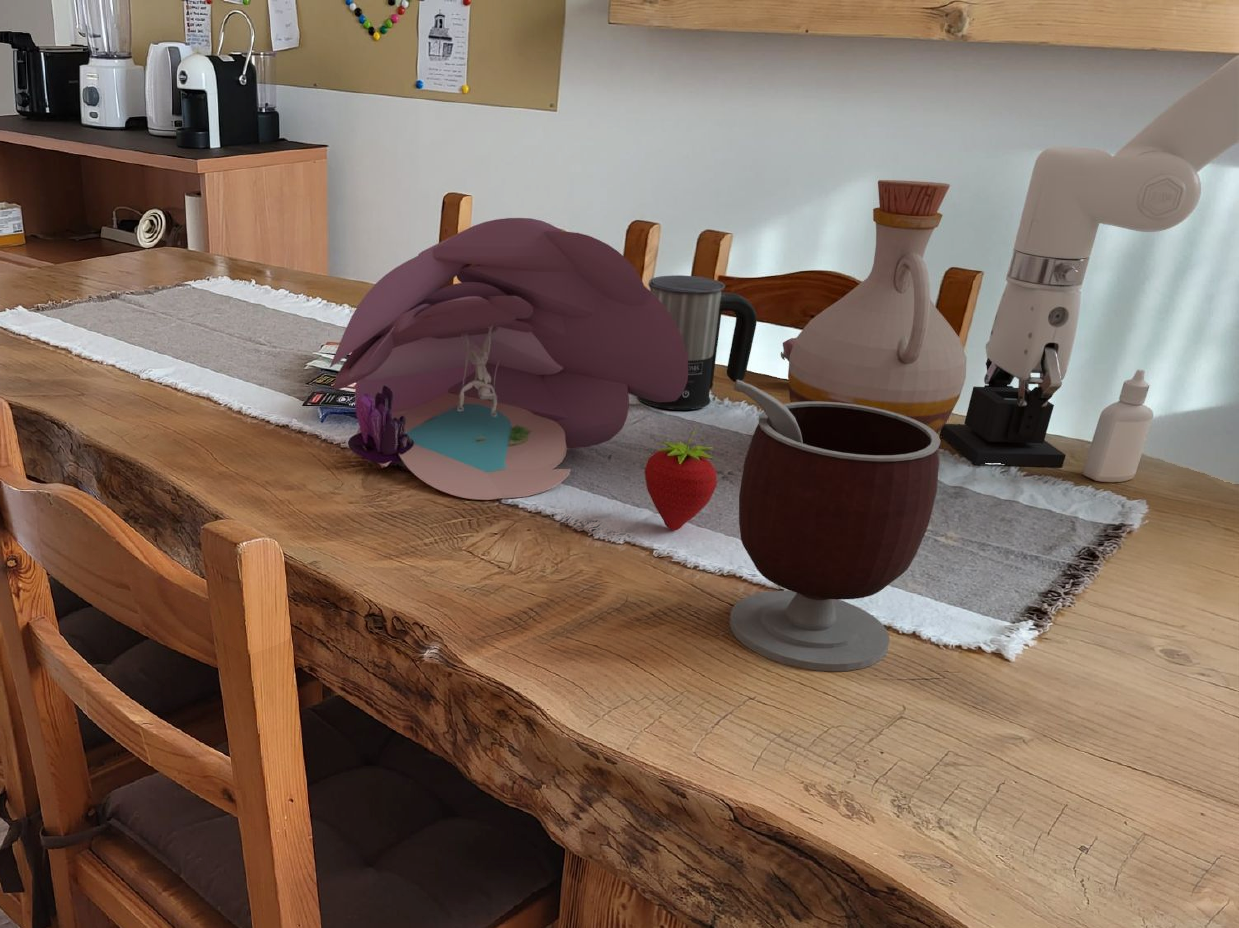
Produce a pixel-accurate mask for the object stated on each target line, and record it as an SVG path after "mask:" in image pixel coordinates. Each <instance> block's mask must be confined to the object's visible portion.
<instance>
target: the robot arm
mask: <svg viewBox="0 0 1239 928" xmlns="http://www.w3.org/2000/svg"><path fill="white" fill-rule="evenodd" d="M1238 143H1239V54H1238V55H1236V56H1234V57H1233V58H1232V59H1230V60H1229V61H1228V62H1226V63H1225V64H1223V65H1222V66H1221V67H1220V68H1219V69H1217V70H1216V71H1215V72H1213V73H1212V74H1211V75H1209V76H1208V77H1207V78H1206V79H1203V81H1201V82H1200V83H1198V84H1197V85H1196V86H1194V87H1193V88H1191V90H1189V91H1187V92H1186V93H1185V94H1183V95H1182V96H1181V97H1179V98H1178V99H1177V100H1176V101H1174V102H1173V103H1172V104H1171V105H1169V106H1168V107H1167V108H1166V109H1165V110H1163V111H1162V112H1161V113H1160V114H1159V115H1157V117H1155V118H1154V119H1153V120H1152V121H1151V122H1149V123H1148V124H1147V125H1146V126H1145V127H1144V128H1143V129H1142V130H1140V131H1139V132H1138V133H1137V134H1136V135H1135V136H1133V137H1132V138H1131V139H1130V140H1129V141H1128V142H1127V143H1126V144H1125V145H1124V146H1122V147H1121V148H1120V149H1119V150H1117V152H1116V153H1115V154H1114V155H1112V154H1110V153H1109V152H1108V151H1105V150H1100V149H1095V148H1088V147H1078V146H1051V147H1049V148H1046V149H1044V150H1042V151H1041V152H1040V153H1039V154H1038V156H1037V157H1036V160H1035V162H1034V165H1033V168H1032V172H1031V176H1030V180H1029V184H1028V188H1027V193H1026V197H1025V201H1024V204H1023V208H1022V212H1021V217H1020V221H1019V224H1018V228H1017V233H1016V236H1015V241H1014V245H1013V249H1012V252H1011V256H1010V260H1009V264H1008V269H1007V271H1006V272H1007V273H1006V277H1005V281H1006V284H1005V287H1004V289H1003V292H1002V295H1001V298H1000V301H999V304H998V307H997V310H996V313H995V316H994V320H993V323H992V328H991V330H990V334H989V339H988V340H989V341H987V342H986V344H985V354H986V361H985V367H986V373H985V375H984V379H983V383H984V386H983V387H1006V388H1015V387H1014V386H1013V385H1011V384H1012V382H1013V380H1014V379H1015V378H1016V379H1017V380H1018V387H1017V388H1018V404H1013V407H1012V411H1011V415H1010V418H1009V422H1008V426H1007V430H1006V433H1005V438H1006V439H1008V440H1018V441H1032V440H1034V439H1035V436H1036V433H1037V429H1038V425H1039V422H1040V418H1041V415H1042V411H1043V408H1045V407H1046V406H1047V403H1048V402H1049V400H1050V399H1051V398H1053V396H1054V394H1055V393H1056V392H1057V391H1058V390H1059V389H1060V388H1061V387H1062V384H1063V380H1064V379H1065V377H1066V375H1067V372H1068V369H1069V364H1070V361H1071V357H1072V352H1073V348H1074V344H1075V340H1076V339H1075V338H1076V333H1077V328H1078V323H1079V318H1080V310H1081V299H1082V297H1081V296H1082V291H1081V289H1082V287H1083V283H1084V279H1085V276H1086V273H1087V268H1088V265H1089V261H1090V257H1091V255H1092V250H1093V248H1094V244H1095V240H1096V237H1097V233H1098V230H1099V226H1100V224H1103V225H1107V226H1113V227H1117V228H1122V229H1126V230H1129V231H1136V232H1141V233H1155V232H1162V231H1166V230H1169V229H1172V228H1174V227H1176V226H1178V225H1179V224H1181V223H1182V222H1184V221H1185V220H1186V219H1187V218H1188V217H1190V215H1192V213H1193V212H1194V211H1195V209H1196V208H1197V206H1198V204H1199V201H1200V198H1201V194H1202V183H1201V178H1200V176H1199V173H1198V172H1200V171H1201V170H1202V169H1203V168H1205V167H1206V166H1207V165H1209V164H1210V163H1211V162H1212V161H1214V160H1215V159H1216V158H1217V157H1219V156H1221V154H1223V153H1224V152H1226V151H1228V150H1229V149H1231V148H1232V147H1234V146H1235V145H1237V144H1238ZM1031 374H1039V377H1036V376H1035V377H1034V376H1032V375H1031ZM1029 385H1037V386H1035V387H1034V388H1032V389H1031V391H1030V392H1029V393H1028V390H1030V387H1029Z"/></svg>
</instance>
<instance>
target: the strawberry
mask: <svg viewBox="0 0 1239 928" xmlns="http://www.w3.org/2000/svg"><path fill="white" fill-rule="evenodd" d="M696 429H697V428H696V427H694V429H693V430H692V433H691V435H690V438H689V440H688V442H687V444H684V443H683V442H681V441H679V442H678V443H676V442H675V443H674V442H668V441H664V440H663V441H661V443H662V444H663V445H665V446H666V447H667V448H658V449H657V451H656V452H654V453H653V454H652V455H651V456H649V458H648V459H647V462H646V464H645V468H644V478H645V486H646V490H647V492H648V494H649V497H650V499H651V501H652V503H653V505H654V507H655V509H656V511H657V512H658V514H659V515H660V517H661V519H662V521H663V523H664V525H665V527H667V529H669V530H671V531H678V530H680V529H681V528H682V527H683V526H684V525H685V524H686V523H688V522H689V521H690V520H692V519H693V518H694V517H696V516H697V515H698V514H699V513H700V512H701V511H702V510H703V509H704V508H705V507H706V506H707V505H708V504H709V502H710V500H711V499H712V496H713V495H714V493H715V490H716V488H717V487H718V486H717V485H718V480H717V479H718V478H717V471H716V470H717V469H716V468H715V467H714V466H713V464H712V462H711V461H710V460H715V458H714V457H713V456H712V455H709V454H708V453H706V452H704V451H710V450H714V447H710V446H703V445H702V446H701V445H695V446H693V447H692V448H691V447H690V443H691V440H692V438H693V436H694V433H695V431H696Z"/></svg>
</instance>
